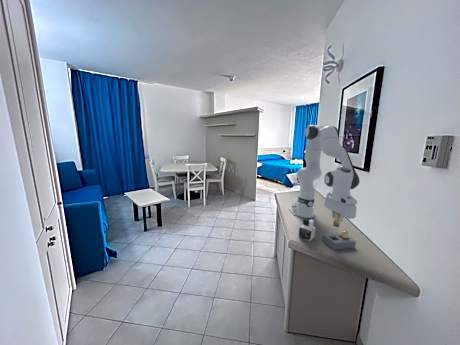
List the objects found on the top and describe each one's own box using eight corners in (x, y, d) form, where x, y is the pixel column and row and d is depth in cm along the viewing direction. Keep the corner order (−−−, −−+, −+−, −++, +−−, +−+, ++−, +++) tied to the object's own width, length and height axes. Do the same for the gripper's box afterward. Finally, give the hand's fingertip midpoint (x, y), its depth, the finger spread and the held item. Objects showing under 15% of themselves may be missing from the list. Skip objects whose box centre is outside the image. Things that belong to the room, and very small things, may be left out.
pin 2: (339, 242, 121) (340, 230, 120) (343, 242, 122) (345, 229, 121) (343, 245, 118) (345, 232, 117) (347, 244, 119) (349, 232, 118)
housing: (334, 249, 113) (335, 243, 112) (322, 240, 122) (323, 234, 122) (354, 247, 116) (356, 241, 115) (341, 239, 126) (342, 233, 125)
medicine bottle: (298, 237, 125) (300, 219, 123) (303, 233, 130) (305, 216, 128) (309, 241, 120) (312, 222, 118) (314, 237, 126) (316, 219, 124)
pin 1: (331, 224, 117) (333, 211, 116) (336, 224, 118) (338, 211, 117) (335, 227, 114) (337, 213, 113) (340, 227, 115) (342, 213, 114)
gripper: (323, 191, 123) (320, 213, 125) (349, 202, 103) (346, 228, 105) (331, 191, 124) (329, 213, 126) (360, 202, 104) (356, 227, 107)
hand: (337, 220), depth 116 cm, fingers closed on pin 1, 3 cm apart
